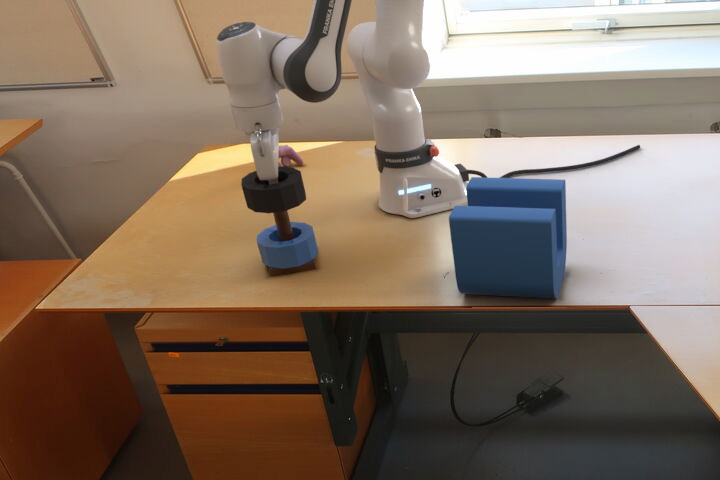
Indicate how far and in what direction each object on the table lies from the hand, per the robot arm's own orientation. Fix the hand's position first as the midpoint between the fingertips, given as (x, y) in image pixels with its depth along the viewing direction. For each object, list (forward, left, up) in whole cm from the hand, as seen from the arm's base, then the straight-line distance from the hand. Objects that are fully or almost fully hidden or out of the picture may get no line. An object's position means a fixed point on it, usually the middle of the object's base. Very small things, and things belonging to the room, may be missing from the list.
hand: (275, 184), depth 156 cm
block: (-42, +28, -16) cm, 53 cm away
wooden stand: (0, +4, -16) cm, 16 cm away
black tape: (0, +4, -2) cm, 5 cm away
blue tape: (0, +4, -14) cm, 15 cm away
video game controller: (+2, -49, -16) cm, 52 cm away
